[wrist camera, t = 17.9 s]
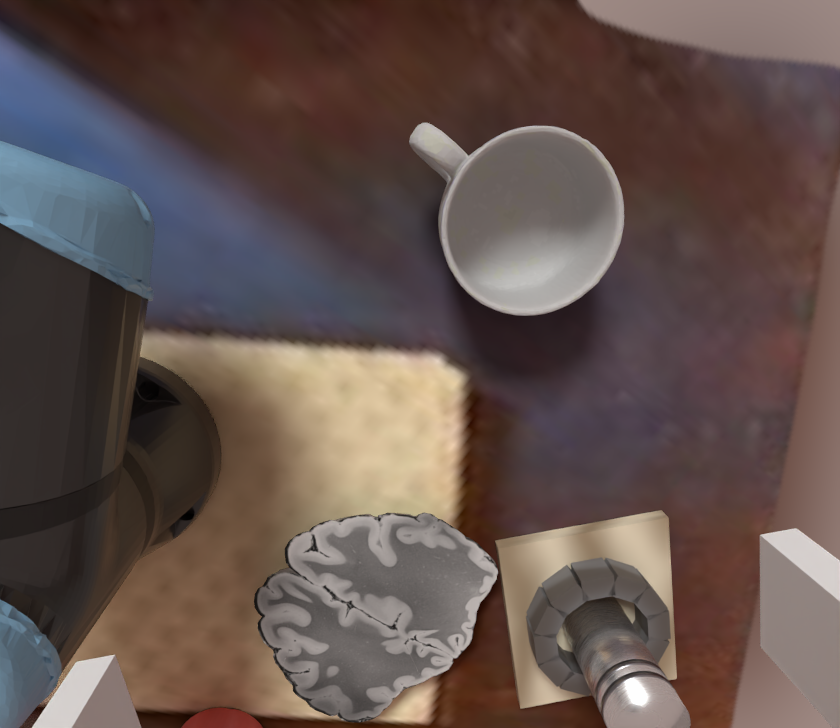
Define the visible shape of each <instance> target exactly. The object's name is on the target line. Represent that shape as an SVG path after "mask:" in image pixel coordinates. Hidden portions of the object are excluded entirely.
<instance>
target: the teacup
mask: <svg viewBox="0 0 840 728" xmlns="http://www.w3.org/2000/svg"><path fill="white" fill-rule="evenodd" d="M409 144H410V146H411V148H412V149H413V150H414V151H415V152H416V153H417V154H418V155H419V156H420V157H421V158H422V159H423V160H424V161H425V162H426V163H427V164H429V165H430V166H431V167H432V168H433V169H434V170H435V171H436V172H438V173H439V174H440V175H441V176H442V177H443V178H444V179H445V180H446V182H447V186H446V188H445V191H444V193H443V197H442V200H441V204H440V209H439V216H438V228H439V237H440V242H441V245H442V249H443V252H444V255H445V258H446V261H447V263H448V266H449V268H450V270H451V272H452V273H453V275H454V276H455V278H456V280H457V281H458V282H459V284H460V285H461V286H462V287H463V288H464V289H465V290H466V292H467V293H468V294H469V295H471V296H472V297H473V298H474V299H475V300H477V301H478V302H480V303H482V304H483V305H485V306H487V307H489V308H492V309H494V310H496V311H499V312H502V313H506V314H511V315H518V316H531V315H541V314H546V313H550V312H553V311H556V310H558V309H561V308H563V307H565V306H568V305H569V304H571V303H572V302H574V301H576V300H577V299H579V298H581V297H582V296H583V295H584V294H586V293H587V292H588V291H589V290H591V289H592V288H593V287H594V286H595V285H596V284H597V283H598V282H599V280H600V279H601V278H602V277H603V275H604V274H605V273H606V271H607V270H608V268H609V266H610V265H611V263H612V261H613V259H614V257H615V255H616V253H617V250H618V248H619V245H620V242H621V238H622V232H623V226H624V203H623V196H622V192H621V188H620V185H619V182H618V179H617V177H616V175H615V173H614V170H613V168H612V167H611V165H610V163H609V162H608V160H606V159H605V157H604V156H603V154H602V153H601V152H600V151H599V150H598V149H597V148H596V147H595V146H594V145H592V144H591V143H590V142H589V141H588V140H585V139H583V138H581V137H580V136H578V135H577V134H575V133H573V132H569V131H567V130H565V129H562V128H558V127H553V126H528V127H522V128H517V129H514V130H510V131H507V132H505V133H503V134H500V135H499V136H497V137H495V138H493V139H492V140H490V141H489V142H487V143H486V144H484V145H483V146H482V147H480V148H479V149H477V150H476V151H475V152H473V153H472V154H471V155H469V156H468V155H467V154H466V153H465V152H464V151H463V150H462V149H461V148H460V147H459V146H458V145H457V144H456V143H455V142H454V141H453V140H451V139H450V138H449V137H448V136H447V135H446V134H444V133H443V132H442V131H440V130H439V129H437V128H436V127H434V126H433V125H431V124H429V123H422V124H420V125H418V126H417V127H416V129H415V130H414V132H413V133H412V135H411V136H410V141H409Z"/></svg>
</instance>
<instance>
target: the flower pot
mask: <svg viewBox="0 0 840 728" xmlns="http://www.w3.org/2000/svg"><path fill="white" fill-rule="evenodd" d="M181 728H263V727H262V726H261V724H260V723H259V722H258V721H257V720H256V719H255V718H254V717H252V716H251V715H249V714H247V713H245V712H243V711H240V710H237V709H227V708H211V709H207V710H204V711H202V712H199V713H197V714H195V715H194V716H192V717H191V718H190V719H189V720H187V721H186V722H185V724H184V725H183V726H182V727H181Z"/></svg>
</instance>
